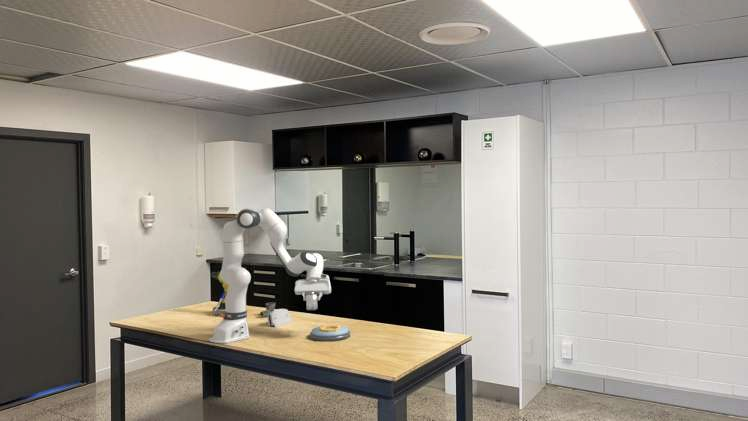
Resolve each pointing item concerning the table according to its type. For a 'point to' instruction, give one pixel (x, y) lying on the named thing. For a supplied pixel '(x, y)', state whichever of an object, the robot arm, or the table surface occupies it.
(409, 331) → the table surface
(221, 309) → the cordless drill
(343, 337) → the turntable base
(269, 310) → the pipe
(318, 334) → the turntable platter
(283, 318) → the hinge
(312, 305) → the silver can
